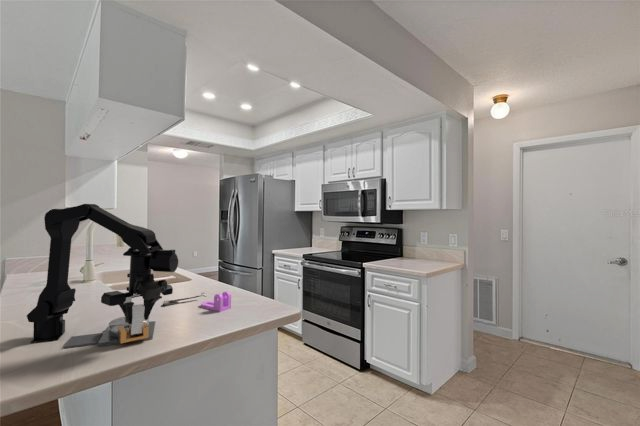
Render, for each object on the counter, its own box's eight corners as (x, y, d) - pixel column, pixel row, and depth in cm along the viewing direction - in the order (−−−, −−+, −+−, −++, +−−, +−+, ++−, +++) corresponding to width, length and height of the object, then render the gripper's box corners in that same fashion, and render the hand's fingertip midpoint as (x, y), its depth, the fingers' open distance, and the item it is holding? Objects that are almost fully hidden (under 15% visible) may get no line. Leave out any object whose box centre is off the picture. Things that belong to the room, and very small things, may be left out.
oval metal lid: (106, 328, 100) (106, 314, 100) (145, 321, 107) (145, 308, 107) (112, 345, 88) (112, 329, 88) (155, 335, 95) (155, 321, 95)
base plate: (97, 346, 90) (97, 343, 90) (107, 329, 102) (107, 326, 102) (152, 339, 95) (152, 335, 95) (155, 323, 108) (155, 321, 108)
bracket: (230, 308, 127) (231, 291, 127) (220, 312, 122) (220, 294, 122) (208, 303, 133) (209, 287, 133) (198, 307, 129) (198, 290, 129)
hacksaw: (162, 308, 127) (162, 304, 127) (153, 302, 134) (154, 299, 134) (217, 297, 144) (217, 294, 144) (207, 293, 151) (207, 290, 151)
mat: (63, 348, 88) (63, 347, 88) (71, 338, 95) (71, 336, 95) (97, 344, 91) (97, 342, 91) (103, 334, 98) (103, 332, 98)
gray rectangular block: (130, 334, 91) (133, 307, 92) (128, 331, 94) (131, 305, 94) (142, 333, 93) (144, 306, 94) (139, 330, 96) (142, 304, 96)
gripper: (121, 279, 83) (118, 337, 82) (184, 270, 98) (181, 319, 98) (101, 273, 88) (98, 328, 88) (163, 266, 104) (161, 312, 104)
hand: (138, 321), depth 95 cm, fingers open, 4 cm apart
